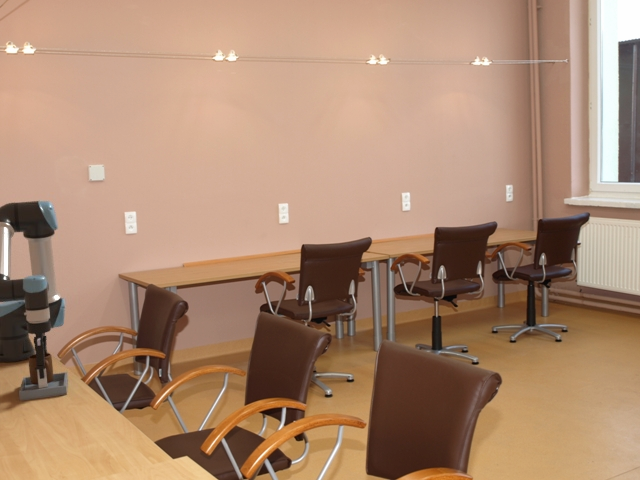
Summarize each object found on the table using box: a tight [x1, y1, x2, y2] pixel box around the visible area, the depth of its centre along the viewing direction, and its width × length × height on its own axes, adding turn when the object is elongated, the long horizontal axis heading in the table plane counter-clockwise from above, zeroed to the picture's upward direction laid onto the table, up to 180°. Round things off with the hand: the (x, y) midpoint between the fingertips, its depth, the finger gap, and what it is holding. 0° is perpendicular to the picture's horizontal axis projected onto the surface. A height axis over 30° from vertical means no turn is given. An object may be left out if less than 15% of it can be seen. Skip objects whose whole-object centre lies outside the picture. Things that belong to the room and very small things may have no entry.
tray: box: [18, 371, 69, 402], centre depth 249 cm, size 17×15×3 cm
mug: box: [28, 352, 54, 385], centre depth 248 cm, size 12×8×9 cm, turn 37°
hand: (44, 381), depth 249 cm, fingers open, 11 cm apart
